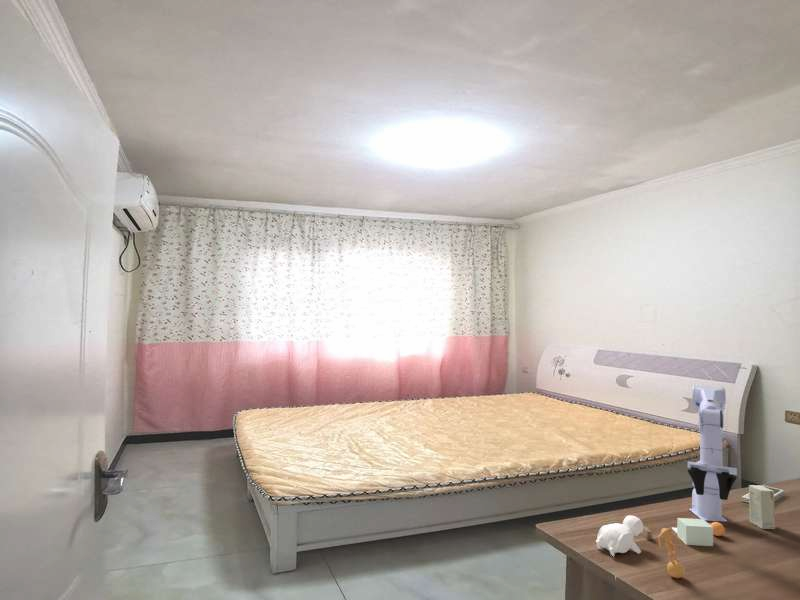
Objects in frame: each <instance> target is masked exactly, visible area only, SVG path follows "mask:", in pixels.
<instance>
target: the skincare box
mask: <svg viewBox="0 0 800 600" xmlns="http://www.w3.org/2000/svg"><path fill="white" fill-rule="evenodd" d="M748 501H749V503H748V505H749V522H750V523H751V524H753V525H754V526H756V525H757V526H756V527H758V528H760V529H762V530H776V523H775V522H776V519H775V515H776V514H775V491H774V490H773V489H770V488H768V487H766V486H763V485H759V484H757V485H755V484H751V485H750V484H749V485H748Z"/></svg>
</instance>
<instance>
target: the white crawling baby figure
mask: <svg viewBox="0 0 800 600" xmlns="http://www.w3.org/2000/svg"><path fill="white" fill-rule="evenodd" d="M637 517H638V516H637ZM637 517H635V515H627V516H625V518H624V519H623V521H622V523H618V522H615V523H614V522H613V523H609V524H606V525H605V524H604V525H602V526H601V527H600V528H599V530H598V533H597V536H596V540H595V543H596V548H597V547H598V548H599V549H600V550H601V548H604V549H606V550H607V551H609V554H610V556H611V555H612V556H613V558H615V557H616V556H615V554H617V553H620V554H624V553H627V552H628V551H629V550H632V551H633V552H635V553H636V554H638V555H640V554H641V553H642V551H641V549H640V547H639V546H638V545H637V544H636V543H635V541H634V540H635V538H634V537H638V536H639V535H640V534H642V533H641V532H642V531H643V524H644V523H643V521H642V520H641V519H640V517H638V518H637ZM642 523H643V524H642ZM598 548H597V549H598ZM599 549H598V550H599ZM612 556H611V557H612ZM614 556H615V557H614Z"/></svg>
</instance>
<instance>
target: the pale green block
mask: <svg viewBox="0 0 800 600" xmlns="http://www.w3.org/2000/svg"><path fill="white" fill-rule="evenodd" d="M676 523H677V524H676V528H677V533H676V534H677V535H676V536H677V537H678V538H679V540H680V541H681V542H683V543H684V544H685V545H686V546H701V547H702V546H703V547H714V534H713V527H712V526H711V523H708V521H705V520H703V519H700V518H685V517H684V518H683V517H677V522H676Z"/></svg>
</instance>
